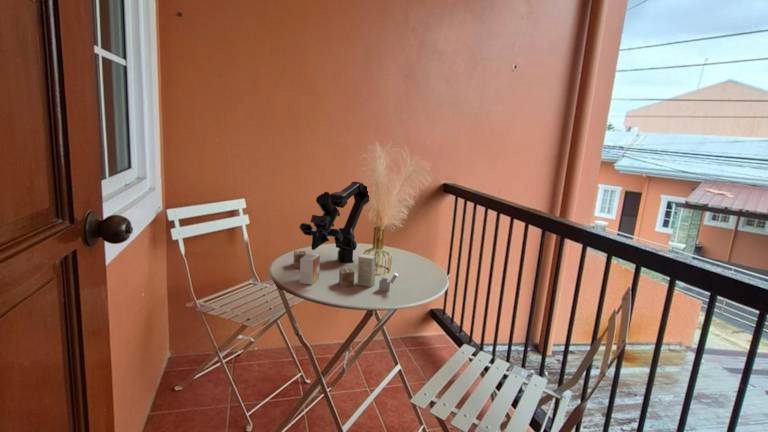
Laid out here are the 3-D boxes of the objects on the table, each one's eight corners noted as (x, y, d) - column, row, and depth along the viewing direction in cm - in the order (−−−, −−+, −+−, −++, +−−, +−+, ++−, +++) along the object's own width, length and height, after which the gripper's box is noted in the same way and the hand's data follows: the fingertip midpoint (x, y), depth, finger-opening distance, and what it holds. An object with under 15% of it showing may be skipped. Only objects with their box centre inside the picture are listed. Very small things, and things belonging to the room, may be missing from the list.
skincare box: (374, 283, 164) (376, 255, 161) (371, 287, 160) (373, 258, 157) (360, 280, 166) (362, 253, 163) (356, 284, 162) (358, 256, 159)
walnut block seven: (304, 263, 181) (305, 250, 180) (306, 267, 177) (306, 254, 175) (293, 263, 180) (293, 250, 178) (294, 267, 175) (295, 254, 174)
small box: (312, 285, 158) (313, 260, 155) (299, 283, 159) (299, 258, 157) (319, 278, 166) (320, 254, 163) (307, 276, 167) (307, 252, 164)
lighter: (378, 290, 158) (380, 271, 156) (379, 288, 159) (381, 270, 157) (396, 293, 156) (397, 274, 154) (397, 291, 158) (398, 272, 156)
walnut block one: (350, 281, 164) (351, 267, 163) (353, 286, 160) (354, 272, 158) (338, 282, 163) (339, 268, 161) (341, 287, 158) (342, 272, 157)
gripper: (302, 204, 165) (285, 234, 158) (341, 210, 158) (325, 243, 150) (312, 219, 174) (296, 249, 166) (349, 226, 167) (334, 257, 159)
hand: (312, 249), depth 160 cm, fingers closed
